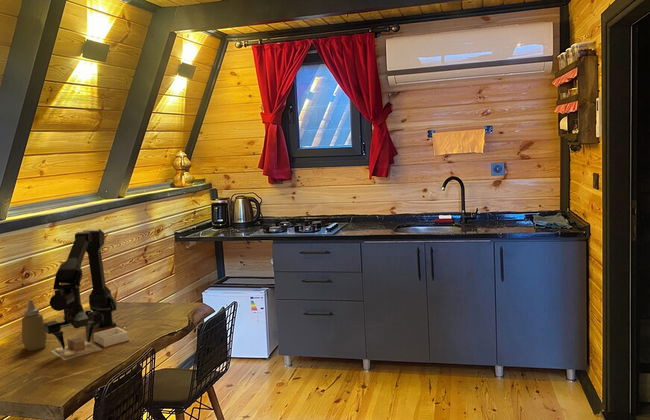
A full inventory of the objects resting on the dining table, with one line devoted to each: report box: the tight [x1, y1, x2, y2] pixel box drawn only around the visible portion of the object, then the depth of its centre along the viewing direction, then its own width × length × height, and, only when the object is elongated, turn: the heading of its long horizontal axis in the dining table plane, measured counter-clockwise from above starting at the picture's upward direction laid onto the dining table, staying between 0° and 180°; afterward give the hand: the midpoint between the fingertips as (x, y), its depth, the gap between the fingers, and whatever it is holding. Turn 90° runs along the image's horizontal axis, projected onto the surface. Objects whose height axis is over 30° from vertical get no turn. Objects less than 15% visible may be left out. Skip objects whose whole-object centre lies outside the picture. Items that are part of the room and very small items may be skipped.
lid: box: [54, 335, 99, 359], centre depth 202 cm, size 11×11×4 cm
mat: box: [51, 341, 103, 361], centre depth 203 cm, size 13×13×1 cm
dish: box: [93, 326, 129, 348], centre depth 211 cm, size 9×9×4 cm
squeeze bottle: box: [21, 299, 48, 351], centre depth 206 cm, size 8×8×18 cm
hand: (76, 345), depth 202 cm, fingers open, 8 cm apart
